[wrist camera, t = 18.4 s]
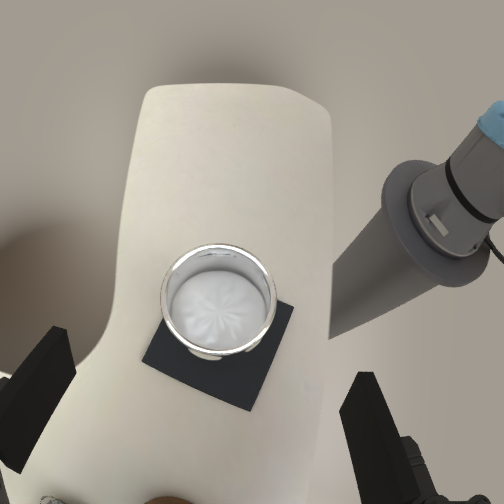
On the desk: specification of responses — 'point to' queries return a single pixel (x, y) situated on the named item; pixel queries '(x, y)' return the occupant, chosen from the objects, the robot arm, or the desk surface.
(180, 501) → the mug
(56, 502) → the figurine
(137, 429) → the desk surface
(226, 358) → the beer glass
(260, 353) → the placemat
